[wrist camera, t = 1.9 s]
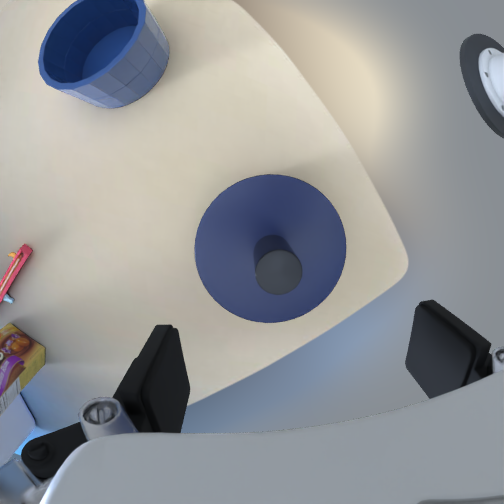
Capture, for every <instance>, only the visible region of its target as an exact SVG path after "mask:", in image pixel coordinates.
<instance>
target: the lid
mask: <svg viewBox="0 0 504 504" xmlns="http://www.w3.org/2000/svg"><path fill="white" fill-rule="evenodd" d="M345 258H346V237H345V232H344V228H343V225H342V222H341V219H340V217H339V215H338V213H337V211H336V209H335V208H334V206H333V205H332V204H331V202H330V201H329V200H328V199H327V198H326V197H325V196H324V195H323V194H322V193H321V192H320V191H319V190H317V189H316V188H314V187H313V186H311V185H310V184H308V183H306V182H304V181H302V180H299V179H296V178H293V177H290V176H284V175H273V174H267V175H259V176H254V177H250V178H247V179H244V180H242V181H239V182H237V183H235V184H234V185H232V186H230V187H228V188H227V189H226V190H225V191H223V192H222V193H221V194H219V196H218V197H217V198H216V199H215V200H214V201H213V202H212V203H211V204H210V206H209V207H208V208H207V210H206V212H205V213H204V215H203V217H202V219H201V221H200V224H199V227H198V230H197V234H196V238H195V261H196V266H197V270H198V273H199V276H200V278H201V280H202V283H203V285H204V286H205V288H206V289H207V291H208V292H209V294H210V295H211V296H212V297H213V298H214V300H215V301H216V302H217V303H219V304H220V305H221V306H222V307H223V308H225V309H226V310H228V311H229V312H231V313H233V314H235V315H237V316H239V317H241V318H244V319H247V320H251V321H255V322H263V323H276V322H283V321H288V320H291V319H295V318H297V317H300V316H302V315H304V314H306V313H308V312H309V311H311V310H313V309H314V308H315V307H317V306H318V305H319V304H320V303H321V302H323V301H324V300H325V299H326V297H327V296H328V295H329V294H330V293H331V292H332V290H333V289H334V287H335V285H336V284H337V282H338V280H339V278H340V276H341V273H342V270H343V267H344V263H345Z"/></svg>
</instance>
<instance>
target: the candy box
mask: <svg viewBox="0 0 504 504" xmlns="http://www.w3.org/2000/svg"><path fill="white" fill-rule="evenodd" d="M44 365H45V347H43V346H42V345H40V344H39V343H37V342H36V341H34V340H33V339H31V338H30V337H29V336H27V335H26V334H24V333H23V332H22V331H20V330H19V329H18V328H16V327H15V326H13V325H12V324H11V323H8V324H7V325H6V326H5V327H3V328H2V329H1V330H0V416H1V415H2V413H3V412H4V411H5V410H6V409H7V407H8V406H9V405H10V404H11V403H12V401H13V400H14V399H15V398H16V397H17V395H18V394H19V393H20V392H21V391H22V389H23V388H24V387H25V386H26V385H27V384H28V383H29V381H30V380H31V379H32V378H33V377H34V376H35V374H36V373H37V372H38V371H39V370H40V369H41V368H42V367H43V366H44Z"/></svg>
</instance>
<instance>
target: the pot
mask: <svg viewBox="0 0 504 504" xmlns="http://www.w3.org/2000/svg"><path fill="white" fill-rule="evenodd" d="M168 59H169V45H168V41H167V39H166V37H165V34H164V32H163V31H162V29H161V27H160V26H159V24H158V22H157V21H156V19H155V17H154V16H153V14H152V12H151V11H150V9H149V7H148V6H147V4H146V2H145V1H144V0H77V1H76V2H74V3H72V4H71V5H70V6H69V7H68V8H67V9H66V10H65V11H64V12H63V13H62V14H60V15H59V17H58V18H57V19H56V20H55V22H54V23H53V24H52V26H51V27H50V29H49V30H48V32H47V34H46V36H45V38H44V40H43V43H42V45H41V48H40V54H39V60H38V64H39V71H40V75H41V77H42V78H43V80H44V81H45V83H46V84H47V85H49V86H51V87H53V88H55V89H57V90H60V91H62V92H64V93H67V94H69V95H72V96H74V97H76V98H79V99H81V100H83V101H86V102H88V103H90V104H93V105H95V106H97V107H102V108H118V107H122V106H125V105H128V104H130V103H133V102H134V101H136V100H138V99H139V98H141V97H142V96H144V95H145V94H146V93H147V92H149V91H150V90H151V89H152V88H153V87H154V86H155V84H156V83H157V82H158V81H159V79H160V78H161V76H162V75H163V73H164V71H165V68H166V66H167V63H168Z"/></svg>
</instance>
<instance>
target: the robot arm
mask: <svg viewBox="0 0 504 504" xmlns="http://www.w3.org/2000/svg"><path fill="white" fill-rule="evenodd" d="M478 64H479V72H480V77H481V80H482V83H483V86H484V88H485V91H486V93H487V95H488V97H489V99H490V100H491V102H492V104H493V105H494V107H495V108H496V109H497V111H498V112H499V113H500V114H501V115H502V116H503V117H504V53H501V52H500V51H498V50H496V49H494V48H487V49H485V50H483V51H482V52H481V53H480V56H479V62H478ZM490 347H491V343H490V342H489V341H487V340H486V339H485V338H484V337H482V336H481V335H480V334H478V333H477V332H476V331H475V330H473V329H472V328H471V327H469V326H468V325H467V324H465V323H464V322H463V321H461V320H460V319H459V318H457V317H456V316H455V315H453V314H452V313H451V312H449V311H448V310H446V309H445V308H444V307H442V306H441V305H440V304H438V303H437V302H436V301H434V300H428V301H423V302H420V303H419V305H418V306H417V307H416V309H415V314H414V321H413V327H412V332H411V337H410V342H409V347H408V352H407V356H406V361H405V364H406V368H407V370H408V371H409V372H410V373H411V375H412V376H413V377H414V379H415V380H416V381H417V382H418V384H419V385H420V387H421V388H422V389H423V391H424V392H425V393H426V395H427V396H428V397H429V399H428V400H425V401H422V402H419V403H416V404H413V405H409V406H406V407H403V408H399V409H396V410H392V411H388V412H384V413H380V414H376V415H372V416H367V417H363V418H358V419H353V420H348V421H343V422H338V423H332V424H326V425H319V426H312V427H305V428H297V429H288V430H278V431H267V432H251V433H223V434H221V433H217V434H215V433H199V434H198V433H180V432H181V428H182V424H183V419H184V415H185V411H186V407H187V403H188V399H189V394H190V384H189V380H188V375H187V371H186V366H185V362H184V357H183V352H182V348H181V343H180V338H179V332H178V329H177V328H173V326H172V325H156V326H155V328H154V330H153V331H152V333H151V335H150V337H149V338H148V340H147V342H146V343H145V345H144V347H143V349H142V350H141V352H140V354H139V356H138V357H137V358H135V359H134V360H133V362H132V364H131V366H130V367H129V369H128V371H127V373H126V374H125V376H124V378H123V380H122V381H121V383H120V385H119V387H118V389H117V390H116V392H115V394H114V396H113V398H110V397H98V398H94V399H92V400H89V401H87V402H86V403H85V404H84V405H83V406H82V407H81V408H80V410H79V413H78V416H79V421H80V422H78V423H76V424H73V425H71V426H68V427H65V428H63V429H60V430H57V431H55V432H52V433H49V434H46V435H43V436H40V437H38V438H35V439H33V440H31V441H29V442H28V443H27V444H26V445H25V446H24V448H23V449H22V453H21V457H22V459H21V460H19V461H17V460H16V458H14V459H13V460H11V461H9V462H8V463H6V464H5V465H3V466H1V467H0V504H504V347H498V348H496V349H494V350H493V352H492V355H491V354H490V353H489V350H490Z"/></svg>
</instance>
